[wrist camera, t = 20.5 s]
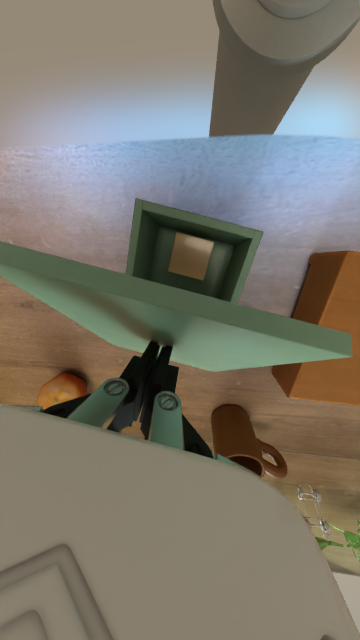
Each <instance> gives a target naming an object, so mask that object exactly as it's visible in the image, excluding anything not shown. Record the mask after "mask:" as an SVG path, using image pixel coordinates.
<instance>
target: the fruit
mask: <svg viewBox="0 0 360 640" xmlns="http://www.w3.org/2000/svg"><path fill="white" fill-rule="evenodd" d="M86 393H87V384H86V382H85V381H84V380H82V379H80V378H78V377H76V376H74V375H71V374H65V373H62V374H59V375H57V376H56V377H54V378H53V379H51V380H50V381H48V382H47V383H46V384H44V385H43V386H42V387H41V389H40V393H39V394H38V396H37V404H38V406H43V409H46V408H48V407H50V406H53V405H56V404H59V403H62V402H65V401H68V400H72V399H75V398H78V397H81V396H85V395H86Z"/></svg>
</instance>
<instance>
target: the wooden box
mask: <svg viewBox="0 0 360 640" xmlns="http://www.w3.org/2000/svg"><path fill="white" fill-rule="evenodd" d="M308 264H311V266H310V268H309V271H308V274H307V277H306V280H305V283H304V286H303V289H302V292H301V294H300V297H299V300H298V303H297V306H296V309H295V312H294V315H293V318H292V319H296V320H300V321H303V322H307V323H311V324H315V325H319V326H322V327H326V328H330V329H334V330H337V331H341V332H345V333H349V334H350V335H351V343H352V354H353V356H352V357H349V358H340V359H330V360H320V361H311V362H301V363H291V364H282V365H276V366H273V368H272V374H273V376H274V378H275V379H276V381H277V382H278V384H279V385H280V387H281V388H282V390H283V391H284V393H285V394H286V396H287V397H290V398H298V399H306V400H314V401H322V402H331V403H339V404H347V405H354V406H360V252H354V251H338V252H325V253H314V254H313V255H312V256H311V257H310V259H309V262H308Z"/></svg>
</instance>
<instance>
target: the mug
mask: <svg viewBox="0 0 360 640" xmlns="http://www.w3.org/2000/svg"><path fill="white" fill-rule="evenodd" d="M212 433H213V444H214V454H215V455H217V453H218V454H220V455H222V456H224V457H226V458H228V459H230V460H231V461H233V462H235V463H237V464H239V465H241V466H243V467H245V468H247V469H249V470H250V471H252V472H254V473H256V474H257V475H259V476H260V477H261V478H262V477H263V476H264V474H265V473H267V474H269V475H270V476H272V477H274V478H284V477H285V476H286V474H287V465H286V462H285V460H284V458H283V457H282V455H281V454H280V453H279V452H278V451H277V450H276V449H275V448H274V447H272V446H271V445H269V444H267V443H264V442H262V441H260V440H259V439H257V438H256V436H255V433H254V430H253V428H252V425H251V422H250V419H249V417H248V415H247V413H246V412H245V411H244V410H243V409H241V408H240V407H237V406H233V405H226V406H222V407H220V408H218V409H217V410H216V411H215V412H214V413H213V415H212ZM261 453H263V454H266V455H268V456H270V457H271V458H272V459H273V461H274V462H275V464H276V465H277V466H275V465H273V464H272V463H270V462H268V461H266V460H265V459H263V458H262V454H261Z"/></svg>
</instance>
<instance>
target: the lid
mask: <svg viewBox="0 0 360 640" xmlns="http://www.w3.org/2000/svg"><path fill="white" fill-rule="evenodd" d="M0 277H2V278H4V279H5V280H7V281H9V282H10V283H12V284H14V285H15V286H17V287H19V288H20V289H22V290H24V291H25V292H27V293H28V294H30V295H32V296H33V297H35V298H37V299H38V300H40V301H42V302H43V303H45V304H47V305H48V306H50V307H52V308H53V309H55V310H57V311H58V312H60V313H62V314H63V315H65V316H66V317H68V318H70V319H71V320H73V321H75V322H76V323H78V324H80V325H81V326H83V327H85V328H86V329H88V330H90V331H91V332H93V333H95V334H96V335H98V336H100V337H101V338H103V339H105V340H106V341H108V342H109V343H111V344H113V345H115V346H118V347H122V348H126V349H130V350H133V351H137V352H141V353H144V351H145V350H146V348H147V346H148V344H149V343H150V341H152V342H156V343H158V345H159V346H160V349H159V353H160V351H161V348H162V346H163V347H165V346H166V345H167V346H171V347H173V349H172V352H171V356H170V360H171V361H175V362H179V363H182V364H186V365H190V366H194V367H197V368H201V369H205V370H209V371H212V372H214V371H223V370H233V369H243V368H253V367H262V366H272V365H282V364H291V363H301V362H311V361H320V360H330V359H340V358H349V357H352V356H353V354H352V343H351V335H350V334H349V333H345V332H341V331H337V330H334V329H330V328H326V327H322V326H319V325H315V324H311V323H307V322H303V321H300V320H296V319H292V318H288V317H285V316H281V315H277V314H273V313H269V312H266V311H262V310H258V309H254V308H250V307H247V306H243V305H239V304H235V303H232V302H228V301H224V300H220V299H216V298H213V297H209V296H205V295H201V294H198V293H194V292H190V291H186V290H182V289H179V288H175V287H171V286H167V285H164V284H160V283H156V282H152V281H148V280H145V279H141V278H137V277H133V276H129V275H126V274H122V273H118V272H114V271H111V270H107V269H103V268H99V267H95V266H92V265H88V264H84V263H80V262H77V261H73V260H69V259H65V258H61V257H58V256H54V255H50V254H46V253H43V252H39V251H35V250H31V249H27V248H24V247H20V246H16V245H12V244H8V243H5V242H1V241H0ZM159 353H158V356H159Z"/></svg>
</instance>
